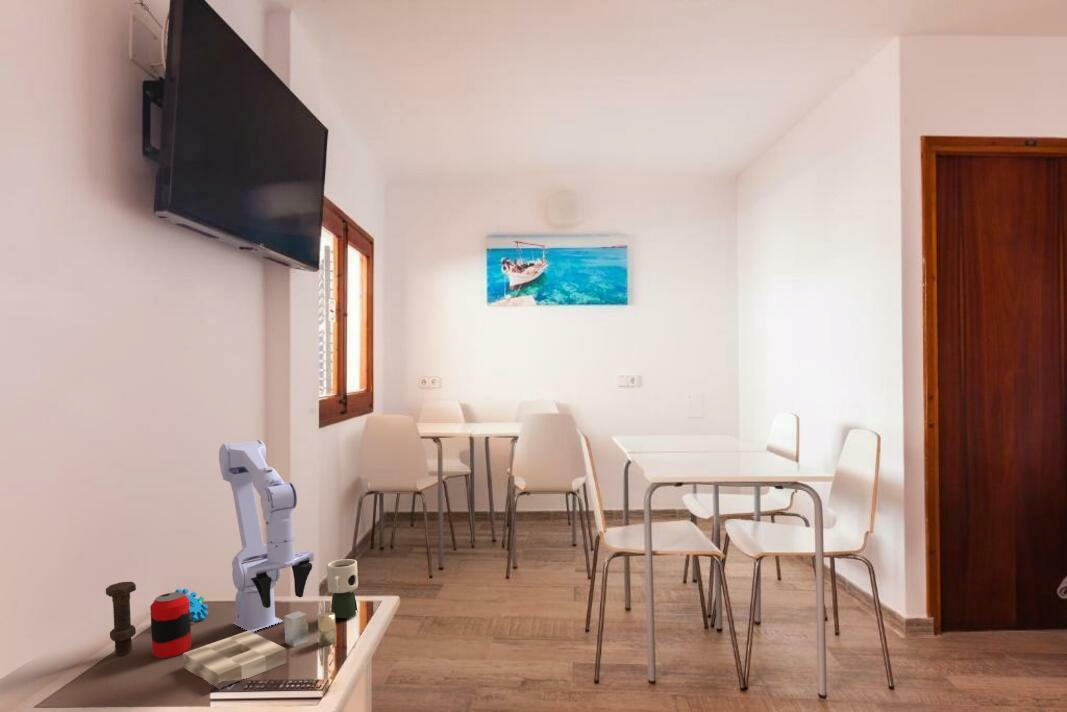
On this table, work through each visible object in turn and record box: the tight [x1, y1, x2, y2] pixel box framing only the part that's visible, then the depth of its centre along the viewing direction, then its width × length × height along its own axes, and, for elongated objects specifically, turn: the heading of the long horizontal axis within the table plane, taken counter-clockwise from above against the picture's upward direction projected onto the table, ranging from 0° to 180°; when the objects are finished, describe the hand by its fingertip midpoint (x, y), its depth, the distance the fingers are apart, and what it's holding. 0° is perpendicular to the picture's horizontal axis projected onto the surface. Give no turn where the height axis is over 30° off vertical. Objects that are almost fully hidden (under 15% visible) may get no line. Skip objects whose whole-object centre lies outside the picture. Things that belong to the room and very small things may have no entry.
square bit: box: [283, 610, 309, 648], centre depth 152 cm, size 4×4×6 cm
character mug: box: [326, 558, 359, 620], centre depth 166 cm, size 11×7×13 cm, turn 177°
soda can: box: [149, 591, 192, 659], centre depth 150 cm, size 8×8×12 cm
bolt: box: [105, 581, 137, 656], centre depth 150 cm, size 6×5×15 cm
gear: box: [174, 588, 209, 622], centre depth 169 cm, size 11×6×10 cm
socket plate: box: [182, 630, 287, 686], centre depth 141 cm, size 16×14×3 cm
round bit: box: [317, 611, 337, 647], centre depth 151 cm, size 4×4×6 cm
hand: (283, 601), depth 150 cm, fingers open, 7 cm apart
